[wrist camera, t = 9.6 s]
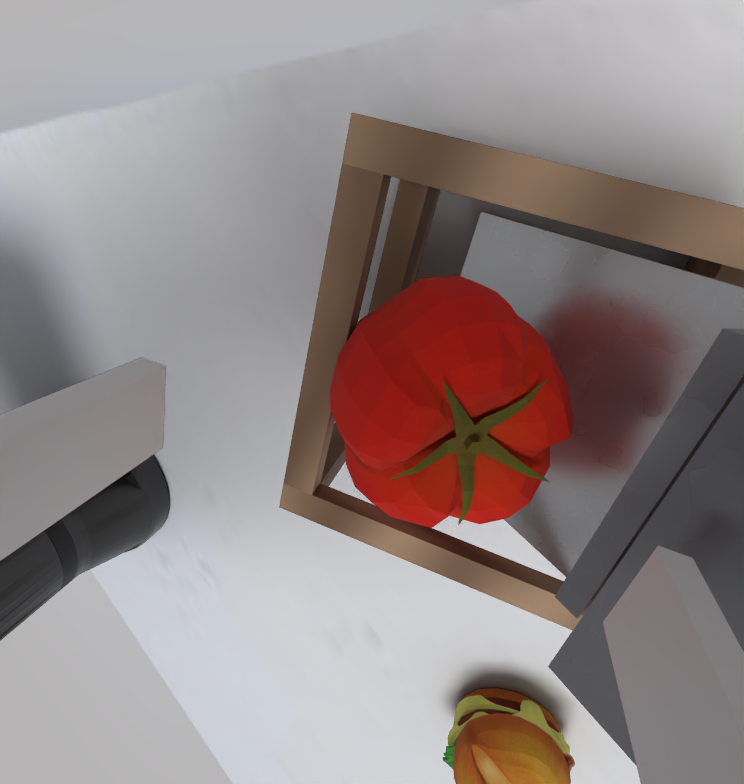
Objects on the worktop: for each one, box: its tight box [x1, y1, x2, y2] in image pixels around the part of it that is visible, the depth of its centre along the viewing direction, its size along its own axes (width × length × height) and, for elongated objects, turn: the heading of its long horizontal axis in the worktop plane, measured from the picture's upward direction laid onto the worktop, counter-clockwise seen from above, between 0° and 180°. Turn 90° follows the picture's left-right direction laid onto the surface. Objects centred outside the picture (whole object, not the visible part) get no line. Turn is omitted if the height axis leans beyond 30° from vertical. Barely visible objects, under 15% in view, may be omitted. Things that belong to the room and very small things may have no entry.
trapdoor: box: [460, 212, 744, 766], centre depth 16 cm, size 19×13×6 cm
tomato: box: [330, 275, 574, 528], centre depth 17 cm, size 9×9×8 cm
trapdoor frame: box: [279, 113, 744, 630], centre depth 22 cm, size 17×17×12 cm
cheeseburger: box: [443, 688, 575, 784], centre depth 37 cm, size 10×11×10 cm
